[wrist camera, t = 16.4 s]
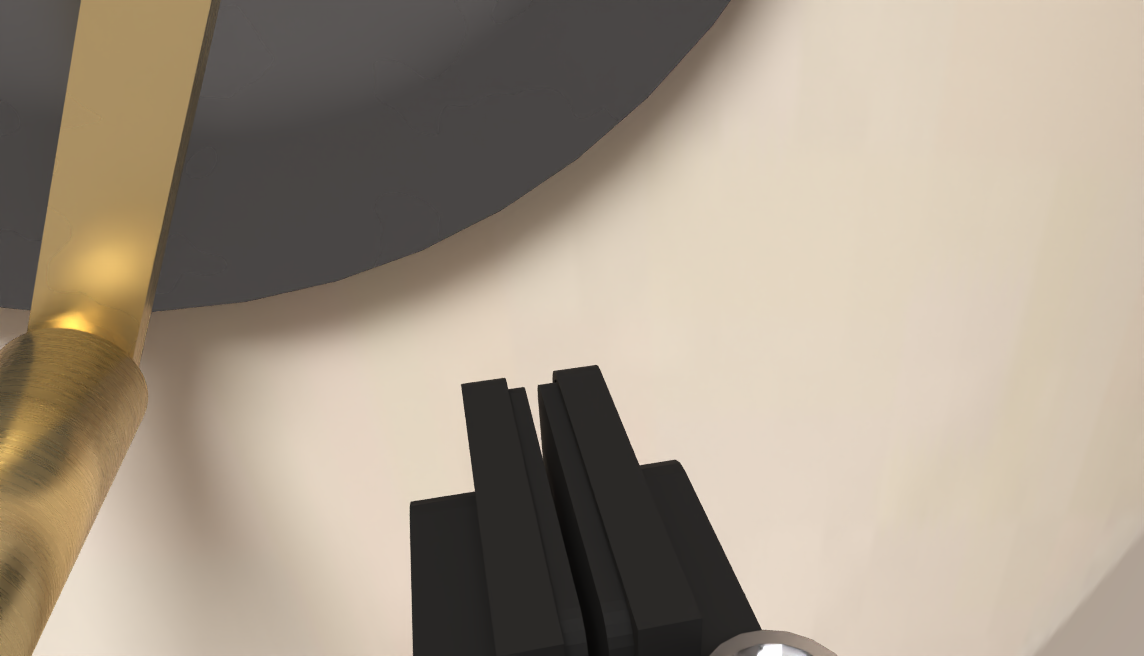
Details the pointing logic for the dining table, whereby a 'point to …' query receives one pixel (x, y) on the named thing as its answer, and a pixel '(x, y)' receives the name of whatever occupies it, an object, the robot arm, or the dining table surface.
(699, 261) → the dining table surface
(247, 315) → the dining table surface
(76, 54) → the brass crank handle
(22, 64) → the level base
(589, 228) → the dining table surface
